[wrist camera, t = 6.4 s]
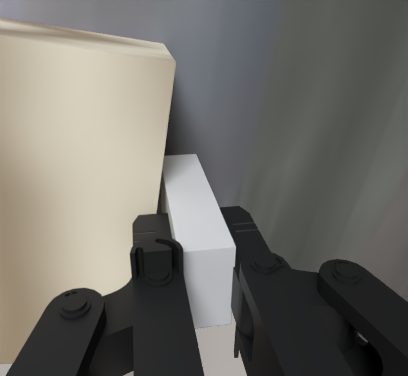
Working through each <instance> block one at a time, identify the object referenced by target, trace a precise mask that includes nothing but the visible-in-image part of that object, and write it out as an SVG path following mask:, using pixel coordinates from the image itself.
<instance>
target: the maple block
mask: <svg viewBox="0 0 408 376" xmlns="http://www.w3.org/2000/svg"><path fill="white" fill-rule="evenodd" d="M175 66H176V62H175V60H174V59H173V57H172V56H171V54H170V53H169V51H168V50H167V48H166V47H165V45H164V44H162V43H156V42H149V41H143V40H137V39H131V38H124V37H118V36H112V35H106V34H100V33H93V32H87V31H81V30H75V29H69V28H62V27H56V26H50V25H44V24H37V23H31V22H25V21H19V20H13V19H6V18H0V364H11V363H12V364H13V363H14V361H15V359H16V357H17V356H18V354H19V352H20V351H21V349H22V347H23V346H24V344H25V342H26V341H27V339H28V337H29V336H30V334H31V332H32V330H33V329H34V327H35V325H36V324H37V322H38V320H39V319H40V317H41V315H42V314H43V312H44V310H45V309H46V307H47V305H48V304H49V303H50V302H51V301H52V300H53V298H55V297H56V296H58V295H60V294H61V293H63V292H65V291H68V290H71V289H75V288H89V289H93V290H95V291H97V292H98V293H100V294H101V295H102V296H104V295H107V294H110V293H112V292H115V291H117V290H119V289H121V288H122V287H123V286H125V285H126V284H127V283H128V282H129V281H130V279H131V277H132V274H131V263H130V251H131V248H132V247H133V233H132V223H133V222H134V221H135V219H136V218H137V216H138V215H145V214H156V212H157V205H158V197H159V189H160V182H161V174H162V166H163V159H164V151H165V143H166V136H167V128H168V120H169V112H170V105H171V97H172V89H173V82H174V74H175Z"/></svg>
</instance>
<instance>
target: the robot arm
mask: <svg viewBox="0 0 408 376" xmlns="http://www.w3.org/2000/svg"><path fill="white" fill-rule="evenodd" d="M161 202H162V213H157V214H145V215H138V216H137V218H136V219H135V221H134V222H133V223H132V233H133V247H132V248H131V251H130V263H131V274H132V277H131V279H130V281H129V282H128V283H127V284H126V285H125V286H123V287H122V288H121V289H119V290H117V291H115V292H112V293H110V294H107V295H104V296H102V295H101V294H100V293H98V292H97V291H95V290H93V289H89V288H75V289H71V290H68V291H65V292H63V293H61V294H60V295H58V296H56V297H55V298H53V300H52V301H51V302H50V303H49V304H48V305H47V307H46V309H45V310H44V312H43V314H42V315H41V317H40V319H39V320H38V322H37V324H36V325H35V327H34V329H33V330H32V332H31V334H30V336H29V337H28V339H27V341H26V342H25V344H24V346H23V347H22V349H21V351H20V352H19V354H18V356H17V357H16V359H15V361H14V363H13V364H12V366H11V368H10V369H9V371H8V373H7V374H6V376H123V375H125V374H127V373H129V372H131V371H134V376H204V372H203V367H202V363H201V358H200V353H199V348H198V343H197V338H196V333H195V329H196V328H204V327H211V326H219V325H227V324H231V318H232V312H233V315H234V318H235V321H236V332H235V344H234V358H238V354H239V351H240V354H241V357H242V360H243V364H244V367H245V370H246V373H247V376H408V302H407V301H405V300H404V299H403V298H402V297H400V296H399V295H398V294H397V293H395V292H394V291H393V290H391V289H390V288H389V287H388V286H386V285H385V284H384V283H383V282H381V281H380V280H379V279H378V278H376V277H375V276H374V275H372V274H371V273H370V272H369V271H367V270H366V269H365V268H363V267H361V266H360V265H358V264H356V263H353V262H350V261H347V260H340V259H335V260H329V261H327V262H325V263H323V264H322V266H321V267H320V270H319V273H316V272H307V271H300V270H295V269H292V268H290V266H289V264H288V263H287V262H286V261H285V260H284V259H283V258H282V257H280V256H278V255H277V254H274V253H271V251H270V250H269V248H268V246H267V244H266V242H265V241H264V239H263V237H262V235H261V233H260V232H259V230H258V228H257V226H256V225H255V223H254V221H253V219H252V217H251V216H250V214H249V213H248V212H247V211H246V210H244V209H243V208H241V207H240V206H234V207H221V208H219V206H218V204H217V202H216V199H215V197H214V195H213V192H212V190H211V188H210V185H209V183H208V181H207V178H206V176H205V174H204V171H203V169H202V167H201V164H200V162H199V160H198V157H197V155H196V154H187V155H168V156H164V159H163V166H162V174H161ZM359 333H360V334H361V335H362V336H363V337H364V338H365V339H366V340H367V341H368V342H365V341H364V340H363V339H361V338H360V337H359V336H358V335H359Z"/></svg>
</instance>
